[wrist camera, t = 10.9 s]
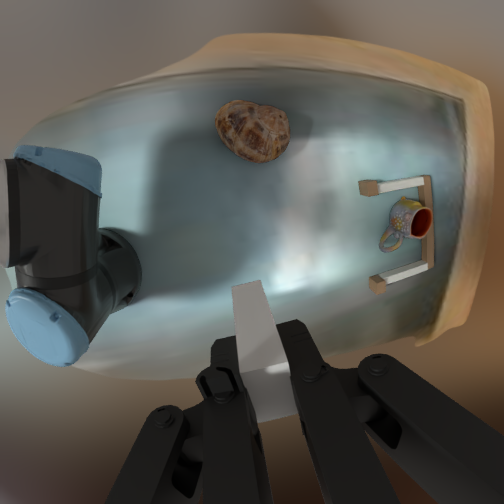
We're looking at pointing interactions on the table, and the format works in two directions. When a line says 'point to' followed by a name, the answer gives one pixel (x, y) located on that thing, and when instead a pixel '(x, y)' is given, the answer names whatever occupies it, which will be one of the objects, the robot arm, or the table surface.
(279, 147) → the seashell
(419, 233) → the mug
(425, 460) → the robot arm
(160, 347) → the table surface
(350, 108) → the table surface
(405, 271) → the pocket
